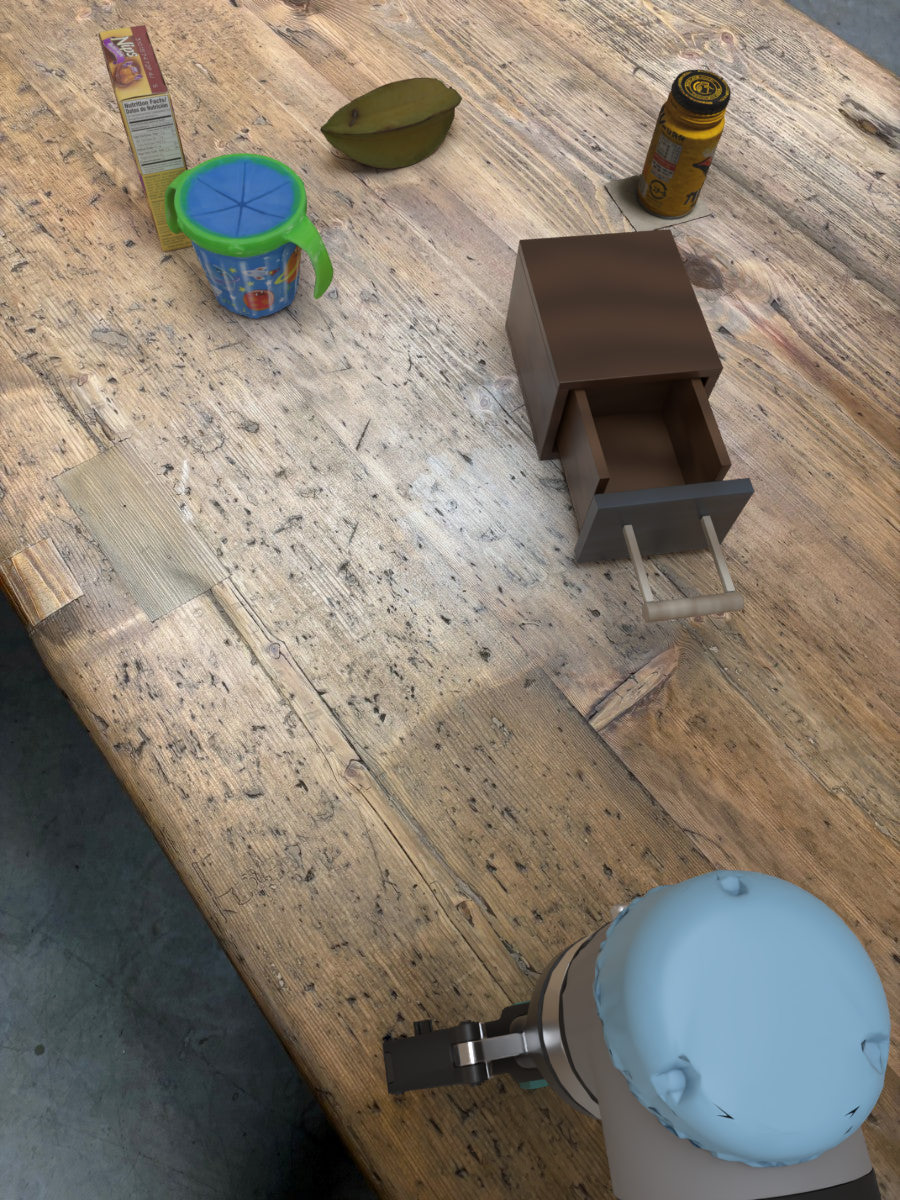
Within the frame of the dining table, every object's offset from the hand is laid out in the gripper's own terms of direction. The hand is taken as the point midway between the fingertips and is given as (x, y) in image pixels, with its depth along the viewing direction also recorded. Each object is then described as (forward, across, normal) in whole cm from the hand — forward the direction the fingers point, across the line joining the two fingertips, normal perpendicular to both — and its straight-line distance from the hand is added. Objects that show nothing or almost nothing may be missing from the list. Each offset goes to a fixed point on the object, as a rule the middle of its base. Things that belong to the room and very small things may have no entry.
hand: (548, 1036), depth 57 cm
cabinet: (0, -15, -50) cm, 52 cm away
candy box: (+1, +20, -74) cm, 76 cm away
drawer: (-1, -15, -35) cm, 38 cm away
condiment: (+1, -27, -72) cm, 77 cm away
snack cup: (+1, +13, -64) cm, 65 cm away
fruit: (+1, -2, -82) cm, 82 cm away
